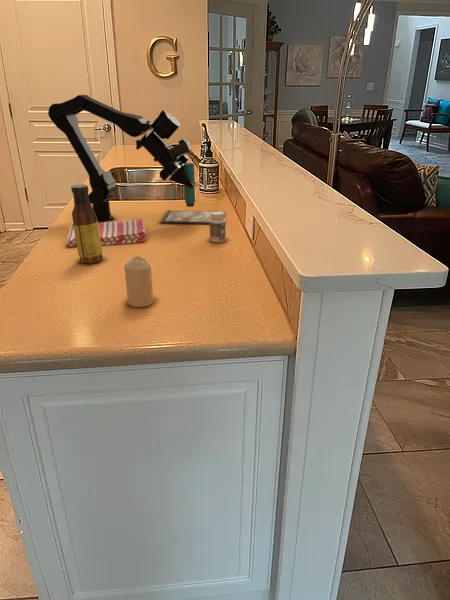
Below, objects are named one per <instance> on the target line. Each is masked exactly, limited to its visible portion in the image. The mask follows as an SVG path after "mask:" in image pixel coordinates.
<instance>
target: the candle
mask: <svg viewBox="0 0 450 600" xmlns="http://www.w3.org/2000/svg"><path fill="white" fill-rule="evenodd" d="M152 275H153V274H152V264H151V262H150V261H148V260H147V259H145V258H142V257H141V256H134V257H133V258H131V259H130V260H129V261H127V262H126V263H125V265H124V277H125V287H126V297H127V304H128V306H131V307H134V308H143V307H147V306H148V307H149V306H150V305H152V304H153V302H154V292H153V290H154V289H153V288H154V287H153V276H152Z"/></svg>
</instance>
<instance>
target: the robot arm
mask: <svg viewBox="0 0 450 600" xmlns="http://www.w3.org/2000/svg"><path fill="white" fill-rule="evenodd" d="M83 111H86V112H87V113H90V114H92V115H94V116H97V117H98V118H100V119H103V120H105V121H107V122H108V123H109V122H110V123H111V124H114V125H115V126H116V127H118V128H119V129H120V130H121V131H122V132H124V133H125V134H127V135H128V136H129V137H131V138H137V137H140V136H142V137H141V138H140V139H136V140H135V149H136V150H137V151H138V150H140V149H142V148H144V149H145V150H146V151H147V152H148V153H149V154H150V155H151V156H152V157H153V161H154V162H155V163H157V162H158V164H160V166H161V167H162V169H161V170H160V171H159V178H160V179H161V180H162V181H163V182H165V181H167V179H168V180H169V181H172V182H175V183H177V184H180V185H182V186H184V187H185V186H187V187H190V188H192V187H193V186H194V185H193V184H192V182H191V181H190V180H189V178H188V177H187V175H186V174H185V173H184V163H189V160H190V159H191V157H190V156H189V155H188V153H189V152H191V151H192V150H193V148H192V146H191V144H192V143H191V142H190V141H189V140H186V139H185V138H183V139H180V140H179V141H178V144H177V145H175V146H173V145H171V144H166V142H165V141H164V140H165V139H166V140H169V139H170V138H171V137H172V136H173V135H174V133H175V132H176V131H177V130H179V128H180V127H181V124H180V121H179V120H178V119H177V118H176V117H175V116H173V115H172V114H171V113H170V112H168V111H167V110H166V109H162V110H161V111H160V113H159V115H158V116H157V117H156V118H155V120H152V121H151V120H147V119H146V118H145V117H143V116H142V115H138V114H133V113H129V112H123V111H121V110H119V109H116V108H114V107H112V106H110V105H108V104H105V103H103V102H101V101H99V100H97V99H95V98H92V97H90V96H89V95H87V94H77V95H76V96H74V97H73V98H71V99H69V100H66V101H63V102H58V103H57V102H56V103H53V104H51V105H50V106H49V108H48V111H47V115H48V117H49V119H50V120H51V122H52V123H53V125H55V127H56V128H57V129H58V130H60V131H61V132H62V133H63V134H64V135H65V136H66V138H67V140H68V142H69V143H70V145H71V146H72V149H73V150H74V152H75V154H76V155H77V157H78V159H79V161H80V162H81V164H82V166H83V168H84V169H85V171H86V173H87V175H88V180H89V186H90V188H91V192H90V193H88V195H89V200H90V203H91V205H92V208H93V210H94V212H95V214H96V216H97V220H98V222H104V221H105V222H106V221H111V220H115V217H113V216H112V215H111V206H110V200H111V199H112V198H113V195H114V194H115V192H116V191H117V180H116V179H115V178H114V177H113V174H112V172H111V170H107V171H106V170H104V169H103V168H102V166H101V165H100V163H99V161H98V160H97V158H96V156H95V154H94V152H93V151H92V149H91V147H90V145H89V144H88V142H87V140H86V138H85V137H84V134H83V133H82V132H81V129H80V127H79V119H78V116H77V115H78V114H80V113H81V112H83ZM148 131H150V132H149V133H147V132H148ZM195 185H197V183H196V182H195Z"/></svg>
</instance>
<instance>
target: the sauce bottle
mask: <svg viewBox="0 0 450 600" xmlns="http://www.w3.org/2000/svg"><path fill="white" fill-rule="evenodd" d="M70 188H71V193H72V195H73V196H72V197H73V203H74V206H73V209H72V211H71V218H72V224H73V227H74V232H75V238H76V244H77V246H76V249H77V255H78V257H79V261H80V263H84V264H96V263H99V262H100V261H102V260H103V245H101V239H100V233H99V226H98V223H99V221H98V220H97V216H96V214H95V212H94V210H93V206H92V204H91V203H90V200H89V186H88V185H87V184H84V183H83V184H74V185H71V186H70Z"/></svg>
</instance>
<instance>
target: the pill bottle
mask: <svg viewBox="0 0 450 600" xmlns="http://www.w3.org/2000/svg"><path fill="white" fill-rule="evenodd" d="M216 211H217V212H212V213H211V218H212V219H210V224H209V241H210V242H212V243H223V242H225V241H226V239H227V237H226V236H227V235H226V231H227V229H226V219H225V216H226V215H225V212H224V211H223V212H219V211H220V210H216Z"/></svg>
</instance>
